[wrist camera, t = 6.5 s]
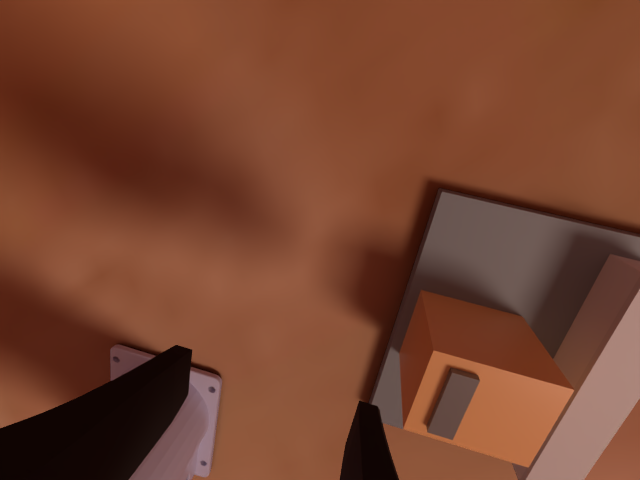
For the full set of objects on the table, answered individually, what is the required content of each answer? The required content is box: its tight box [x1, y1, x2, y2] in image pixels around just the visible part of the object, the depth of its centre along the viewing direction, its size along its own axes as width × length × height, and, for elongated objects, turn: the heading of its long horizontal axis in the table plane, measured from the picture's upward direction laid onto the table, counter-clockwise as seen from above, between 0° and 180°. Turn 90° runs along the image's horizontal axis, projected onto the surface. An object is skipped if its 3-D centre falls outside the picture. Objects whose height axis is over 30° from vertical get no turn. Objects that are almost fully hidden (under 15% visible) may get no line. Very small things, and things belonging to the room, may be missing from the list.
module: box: [399, 290, 574, 468], centre depth 15 cm, size 4×5×5 cm
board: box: [369, 188, 640, 480], centre depth 17 cm, size 14×11×4 cm
